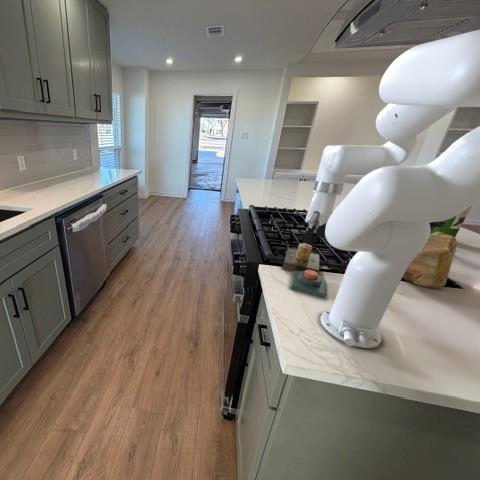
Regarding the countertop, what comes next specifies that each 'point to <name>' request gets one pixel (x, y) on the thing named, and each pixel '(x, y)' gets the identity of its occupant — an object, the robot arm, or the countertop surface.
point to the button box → (308, 284)
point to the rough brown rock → (432, 261)
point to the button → (310, 274)
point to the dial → (304, 252)
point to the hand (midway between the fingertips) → (313, 239)
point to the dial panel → (300, 262)
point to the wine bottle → (453, 224)
